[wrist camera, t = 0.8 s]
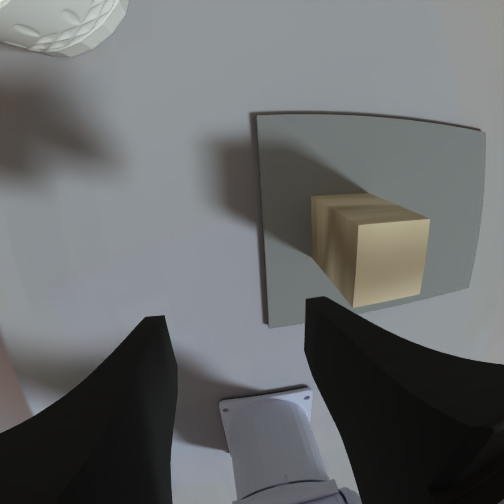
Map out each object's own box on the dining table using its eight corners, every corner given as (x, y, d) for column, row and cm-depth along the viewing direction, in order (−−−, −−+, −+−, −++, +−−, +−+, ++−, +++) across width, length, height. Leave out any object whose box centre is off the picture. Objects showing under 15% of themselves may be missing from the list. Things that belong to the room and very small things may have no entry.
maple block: (366, 250, 20) (419, 294, 14) (311, 257, 20) (352, 307, 14) (368, 193, 19) (430, 218, 13) (311, 196, 18) (358, 225, 12)
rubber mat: (466, 285, 24) (468, 287, 23) (268, 325, 22) (269, 328, 21) (482, 132, 19) (485, 132, 18) (255, 116, 17) (256, 115, 16)
